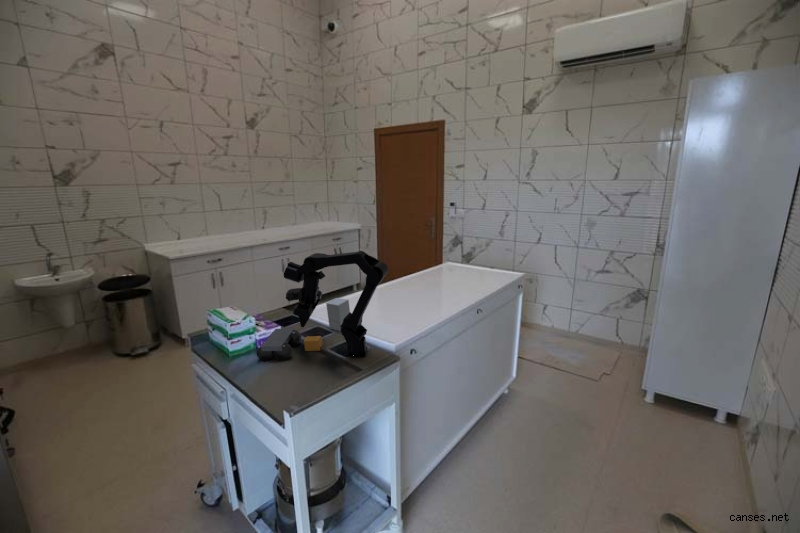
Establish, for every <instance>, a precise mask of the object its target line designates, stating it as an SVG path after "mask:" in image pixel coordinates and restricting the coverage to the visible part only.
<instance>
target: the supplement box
mask: <svg viewBox="0 0 800 533" xmlns="http://www.w3.org/2000/svg"><path fill="white" fill-rule="evenodd" d="M326 309H327V310H326V311H327V313H326V314H327V318H328V319H327V320H328V326H329V329H330V330H334V331H339V332H341V327H340V326H341V325H342V323H343V320H344V318H345V317H346V316H347V315H348V314H349V313H350V312H351V310H350V300H349V299H347V298H346V299H344V298H339V297H335V298H333V299H331V300H329V301H328V302H326Z"/></svg>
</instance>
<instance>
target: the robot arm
mask: <svg viewBox="0 0 800 533" xmlns="http://www.w3.org/2000/svg"><path fill="white" fill-rule="evenodd" d="M302 262H303V263H302V265H301V264H297V263H295V262H294V261H293V262H292V261H290V262H288V263H287V266H286V267H285V270H284V272H283V279H286V280H289V281H292V282H294V283H297V284H299V283H301V282H303V283H302V287H297V288H290V289H288V290H287V291H286V293H285V299H286V300H287V302H292V301H298V302H299V303H298V304H296V305H295V306H294V308H293V311H292V314H293V315H294V316H297V317H298V320H299V324H300V328H305V326H306V324H307V323H308V321H309V320H310V318H311V316H312V315H313V313H314V311H315V310H316V308H317V306H318V304H319V303H320V301H321V299H322V297H323V296H322V295H323V292H322V290H320V287H319V285H320V284H319V283H320V280H323V279H324V278H325V277H326V275H325V273H324V272H323V271H322V270H323V269H325V268H328V267H329V268H330V267H336V266H337V267H338V266H346V265H357V266H358V268H359V269H360V270H361V271H362V272H363V273H364V274H365V275H366V278H365V284H364V287H363V290H362V292H361V294H360V296H359V298H358V300H357V302H356V304H355V306H354V308H353V310H352V312H351V311H350V313H349V314H348V315H347V316H346V317H345V318H344V320H343V323H342V325H341V326H340V327H341V331H340V333H341V335H342V336H343V338H344V340H345V342H346V347H347V353H348V357H349V356H353V355H354V356H358V357H357V358H365V357H366V356H367V351H368V347H367V342H366V334H367V331H368V329H367V328H366V327H365V326H364V325H363V317H364V314H365V312H366V310H367V308H368V306H369V304H370V302H371V299H372V298H373V295H374V294H375V291H376V290H377V288H378V287H379V285H380V284H381V283H382V281H383V280H384V278H385V277H386V276H387V274H388V273H389V267H388V266H387V263H385V262H382V261H381V260H379V259H377V258H376V257H374V256H372V255H369V254H368V253H366V252H365V251H363V250H358V251H353V252H352V251H351V252H343V253H337V254H336V253H335V254H326V253H320V252H316V253H315V252H314V253H313V254H310V255H308V256H306V257H305V258H304V260H303V261H302ZM319 270H320V271H319Z"/></svg>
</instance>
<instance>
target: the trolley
mask: <svg viewBox="0 0 800 533" xmlns="http://www.w3.org/2000/svg"><path fill="white" fill-rule="evenodd" d="M301 339H302V335H301V333H300V332H299V331H298V330H296V329H295V328H292V327H291V328H290V327H289V328H275V329H274V330H273V331H272V332H271V333H270V335H269V336H268V337H267V339H266V340H265V341H264V342H263V343H262V344H261V345H260V346H259V347H258V348H257V350H256V356H257V358H258V359H259V360H261V361H263V362H268V361H270V360H271V359H272V358H273V356H275V358H276V359H277V360H279V361H282V362H283V361H287V360H288V359H289V358H290V357H291V355H292V354H293V348H292V347H296V346H298V344H299V343H300V341H301Z"/></svg>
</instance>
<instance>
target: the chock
mask: <svg viewBox="0 0 800 533" xmlns="http://www.w3.org/2000/svg"><path fill="white" fill-rule="evenodd" d="M303 344H304V345H303V346H304V351H305V352H313V351H315V352H316V351H318V352H319V351H321V349H320V347H321V345H322V346H323V340H322V336H321V335H313V336H312V335H310V336H309V335H308V336H306V337H305V338H304V340H303ZM321 348H322V347H321Z"/></svg>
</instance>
